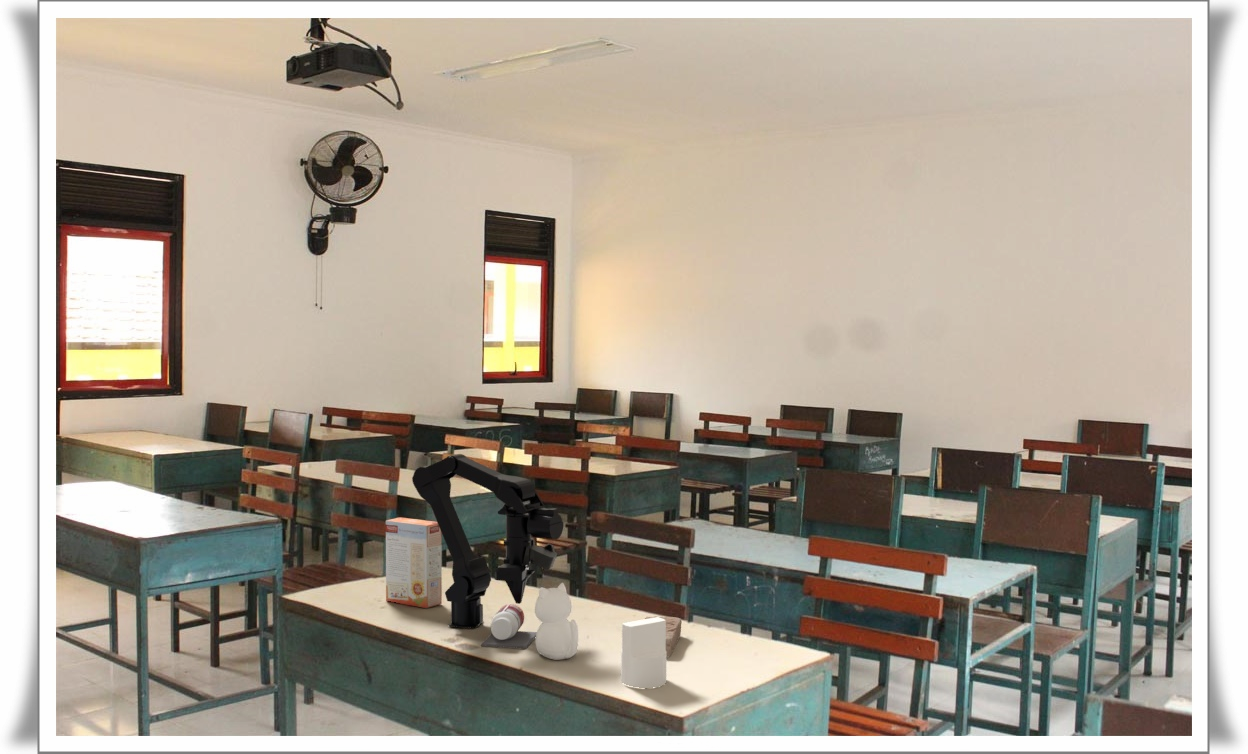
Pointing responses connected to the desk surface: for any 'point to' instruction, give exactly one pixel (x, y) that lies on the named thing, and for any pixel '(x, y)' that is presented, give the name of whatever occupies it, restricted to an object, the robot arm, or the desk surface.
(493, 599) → the desk surface
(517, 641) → the mat
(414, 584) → the cracker box
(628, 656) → the base with upright slab
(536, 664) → the desk surface
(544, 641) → the cat figurine
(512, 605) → the pill bottle
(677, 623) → the brick
